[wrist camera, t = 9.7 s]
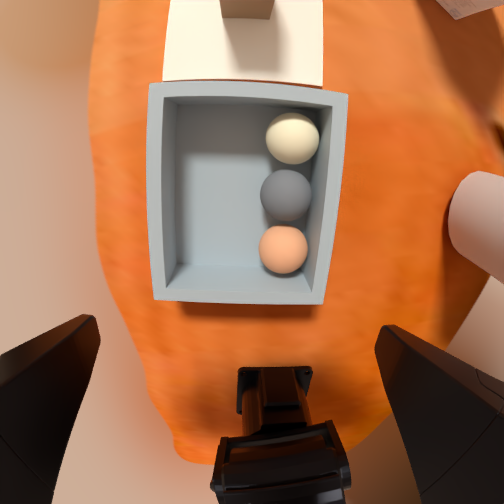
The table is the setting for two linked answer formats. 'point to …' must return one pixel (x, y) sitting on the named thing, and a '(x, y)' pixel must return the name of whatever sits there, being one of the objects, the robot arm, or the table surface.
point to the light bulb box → (467, 6)
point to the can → (479, 221)
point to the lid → (245, 41)
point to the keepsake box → (235, 190)
